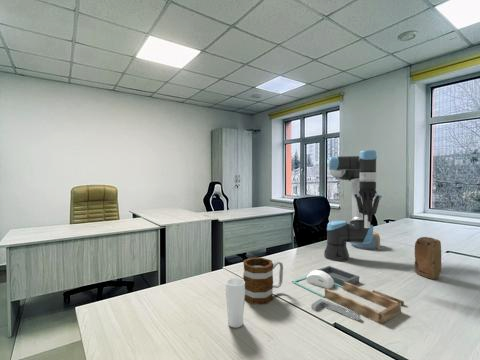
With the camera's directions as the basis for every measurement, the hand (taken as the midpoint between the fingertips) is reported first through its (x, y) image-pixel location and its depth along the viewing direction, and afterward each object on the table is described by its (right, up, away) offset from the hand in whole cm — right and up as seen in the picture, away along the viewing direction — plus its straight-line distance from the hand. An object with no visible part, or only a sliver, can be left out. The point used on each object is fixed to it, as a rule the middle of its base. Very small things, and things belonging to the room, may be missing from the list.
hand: (367, 227), depth 126 cm
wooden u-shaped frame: (-15, -27, -24) cm, 39 cm away
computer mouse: (-25, -27, -4) cm, 37 cm away
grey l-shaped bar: (-28, -27, -31) cm, 50 cm away
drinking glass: (-66, -27, -38) cm, 81 cm away
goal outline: (-27, -26, -7) cm, 38 cm away
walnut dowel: (-2, -27, -20) cm, 34 cm away
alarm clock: (+29, -26, +61) cm, 72 cm away
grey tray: (-15, -26, +1) cm, 30 cm away
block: (+34, -27, +5) cm, 44 cm away
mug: (-54, -27, -17) cm, 62 cm away
